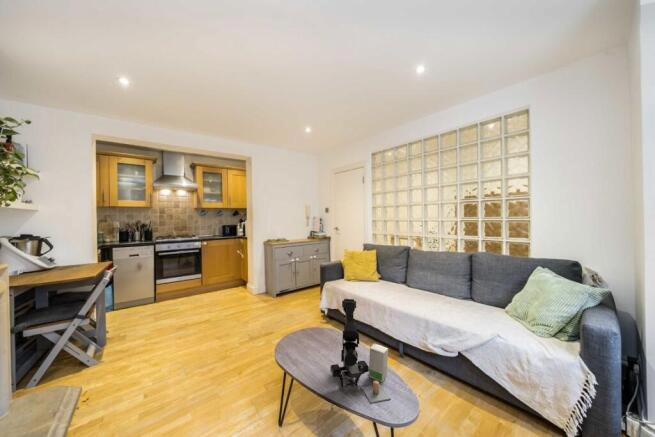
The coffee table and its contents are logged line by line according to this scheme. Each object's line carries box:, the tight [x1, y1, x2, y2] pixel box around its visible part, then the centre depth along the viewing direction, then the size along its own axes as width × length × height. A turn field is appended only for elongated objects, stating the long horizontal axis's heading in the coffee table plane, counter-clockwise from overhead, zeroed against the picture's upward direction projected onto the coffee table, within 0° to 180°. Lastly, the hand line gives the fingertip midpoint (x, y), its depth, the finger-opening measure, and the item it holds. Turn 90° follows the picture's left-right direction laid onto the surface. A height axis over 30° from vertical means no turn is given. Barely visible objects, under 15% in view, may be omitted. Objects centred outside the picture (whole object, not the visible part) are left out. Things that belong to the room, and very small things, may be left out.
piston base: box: [362, 380, 391, 404], centre depth 120 cm, size 10×10×6 cm
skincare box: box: [368, 343, 389, 383], centre depth 133 cm, size 8×7×16 cm
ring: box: [339, 377, 359, 394], centre depth 124 cm, size 7×7×2 cm
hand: (349, 385), depth 124 cm, fingers open, 7 cm apart
